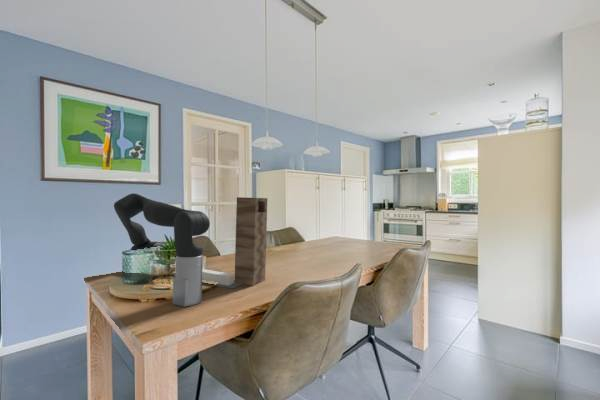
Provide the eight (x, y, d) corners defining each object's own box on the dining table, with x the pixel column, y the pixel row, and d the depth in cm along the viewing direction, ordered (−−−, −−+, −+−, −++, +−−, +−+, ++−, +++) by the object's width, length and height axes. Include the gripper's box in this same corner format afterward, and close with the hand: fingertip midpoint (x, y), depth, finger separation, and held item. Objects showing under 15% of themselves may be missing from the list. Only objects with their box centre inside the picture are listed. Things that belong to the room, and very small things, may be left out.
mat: (232, 288, 117) (232, 287, 117) (187, 280, 127) (187, 279, 127) (242, 284, 124) (242, 283, 124) (198, 276, 134) (198, 275, 134)
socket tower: (253, 285, 122) (255, 198, 122) (234, 282, 126) (236, 197, 126) (265, 280, 131) (267, 198, 131) (247, 277, 135) (249, 197, 135)
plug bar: (228, 285, 120) (228, 276, 120) (189, 278, 129) (189, 269, 129) (233, 283, 124) (234, 274, 124) (195, 276, 133) (196, 267, 133)
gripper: (151, 244, 132) (176, 247, 126) (175, 240, 145) (199, 243, 139) (150, 260, 132) (175, 264, 125) (175, 255, 145) (199, 258, 138)
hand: (188, 253), depth 132 cm, fingers open, 8 cm apart
